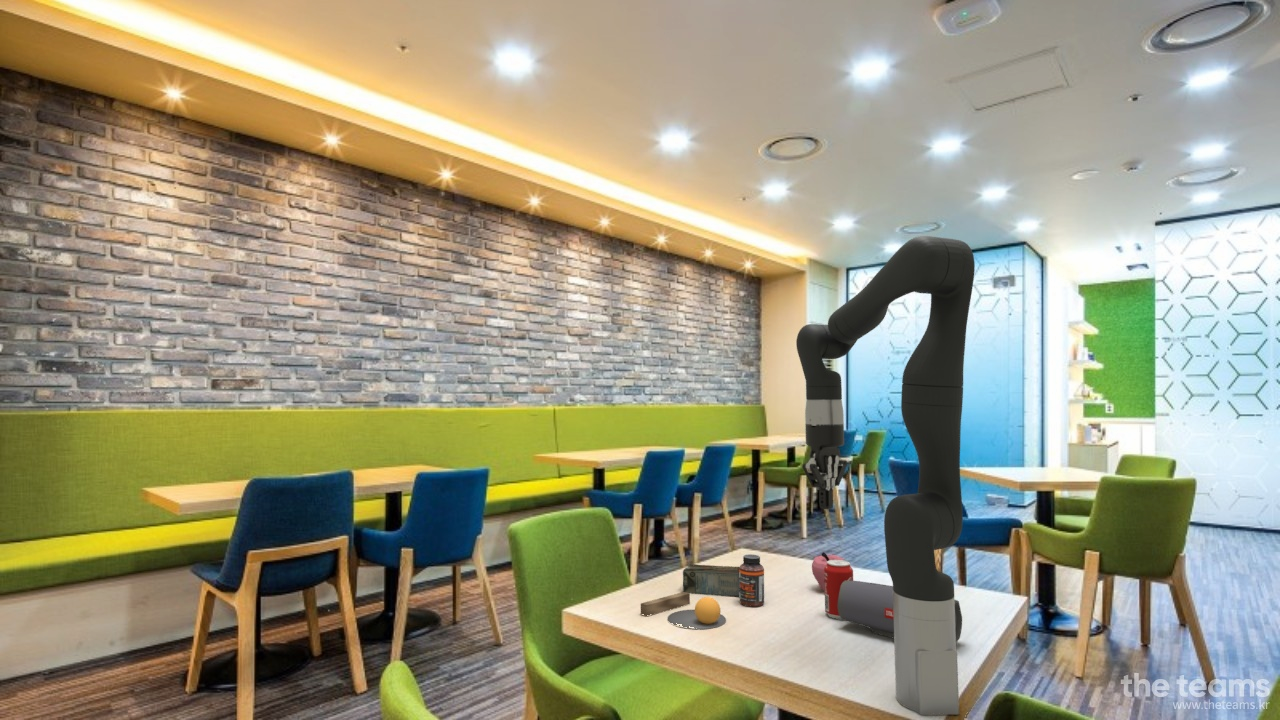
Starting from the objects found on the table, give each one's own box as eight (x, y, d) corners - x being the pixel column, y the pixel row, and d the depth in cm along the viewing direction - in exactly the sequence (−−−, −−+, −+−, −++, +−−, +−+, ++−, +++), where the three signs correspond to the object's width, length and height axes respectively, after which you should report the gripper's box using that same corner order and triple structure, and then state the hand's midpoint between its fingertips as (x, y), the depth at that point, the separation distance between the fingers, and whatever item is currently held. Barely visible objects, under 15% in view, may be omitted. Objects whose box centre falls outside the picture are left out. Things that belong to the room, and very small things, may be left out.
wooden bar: (683, 602, 160) (683, 591, 160) (689, 604, 158) (689, 593, 159) (640, 614, 151) (640, 603, 151) (646, 616, 149) (646, 605, 149)
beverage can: (855, 621, 145) (854, 566, 146) (826, 619, 147) (825, 565, 147) (852, 612, 152) (851, 559, 152) (824, 611, 153) (823, 558, 154)
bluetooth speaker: (836, 630, 140) (835, 582, 141) (854, 619, 147) (853, 573, 148) (950, 656, 125) (948, 603, 126) (963, 643, 132) (962, 592, 133)
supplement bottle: (735, 605, 157) (735, 557, 158) (744, 598, 163) (743, 552, 163) (760, 608, 155) (759, 559, 155) (767, 602, 160) (766, 554, 161)
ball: (698, 624, 147) (717, 632, 143) (685, 611, 144) (704, 619, 140) (710, 601, 149) (729, 609, 145) (698, 589, 147) (717, 596, 142)
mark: (730, 629, 141) (730, 628, 141) (669, 629, 140) (669, 628, 140) (721, 610, 154) (721, 609, 154) (665, 610, 153) (665, 609, 153)
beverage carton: (688, 585, 175) (688, 560, 176) (761, 591, 170) (761, 565, 171) (682, 594, 168) (682, 567, 168) (758, 600, 162) (757, 573, 163)
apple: (847, 597, 163) (846, 556, 164) (811, 594, 166) (810, 554, 167) (847, 587, 172) (846, 548, 173) (813, 584, 175) (812, 546, 176)
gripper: (826, 421, 141) (828, 503, 140) (789, 422, 132) (791, 510, 131) (858, 422, 135) (860, 507, 134) (821, 423, 127) (823, 514, 126)
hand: (826, 508), depth 133 cm, fingers closed
